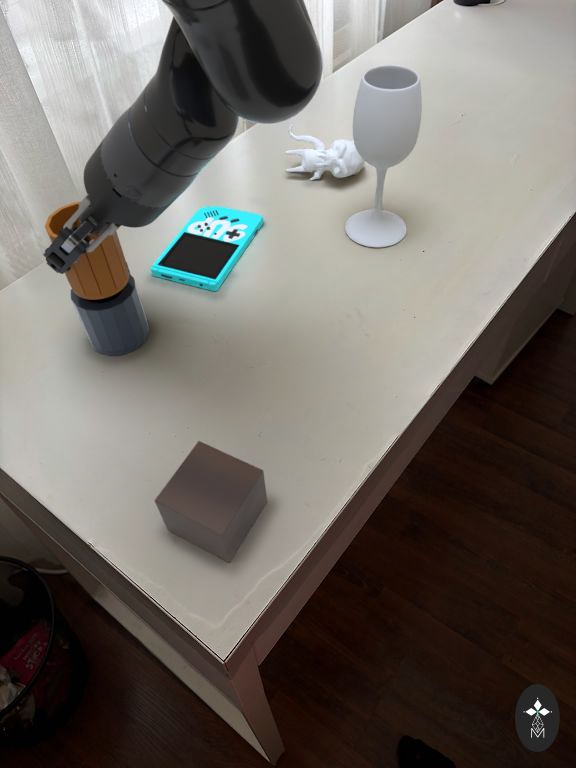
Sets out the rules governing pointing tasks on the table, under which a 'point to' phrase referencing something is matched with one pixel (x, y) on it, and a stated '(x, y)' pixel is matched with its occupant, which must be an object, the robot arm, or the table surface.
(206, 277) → the handheld game console
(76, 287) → the orange hollow slatted cylinder
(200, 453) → the block
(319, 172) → the figurine
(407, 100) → the wineglass
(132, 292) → the mug
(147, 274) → the table surface
